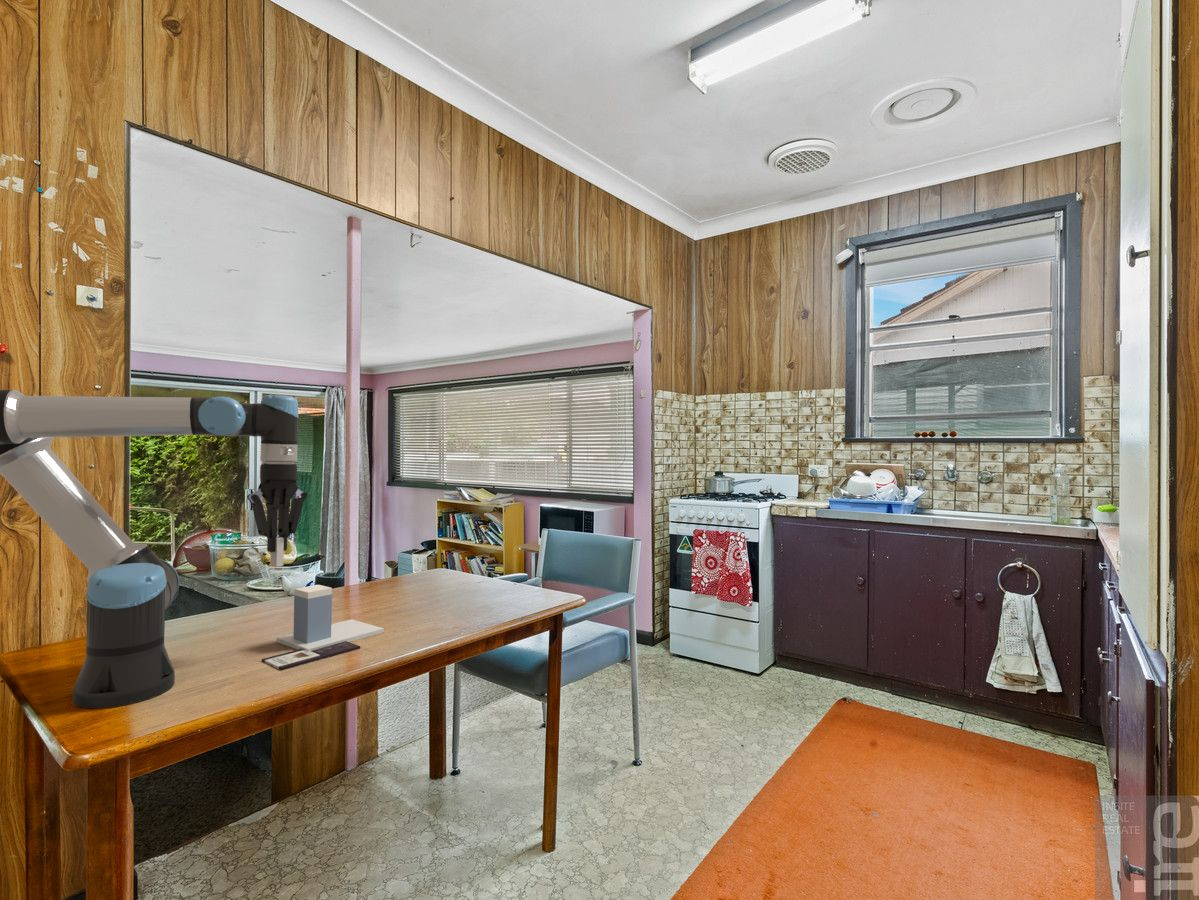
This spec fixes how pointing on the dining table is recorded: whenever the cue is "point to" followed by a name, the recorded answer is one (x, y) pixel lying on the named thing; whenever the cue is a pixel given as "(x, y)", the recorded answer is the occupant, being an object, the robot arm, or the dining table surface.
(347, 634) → the board
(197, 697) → the dining table surface
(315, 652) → the chocolate bar
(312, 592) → the block
